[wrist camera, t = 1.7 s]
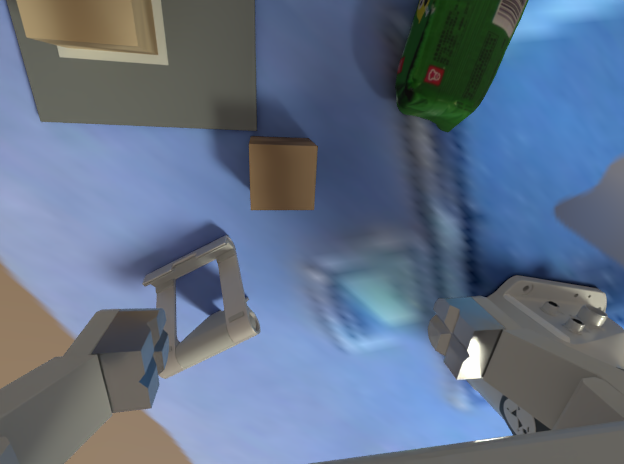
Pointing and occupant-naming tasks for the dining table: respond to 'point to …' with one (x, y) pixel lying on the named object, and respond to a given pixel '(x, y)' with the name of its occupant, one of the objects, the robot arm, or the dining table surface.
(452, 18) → the snack package
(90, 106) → the mat
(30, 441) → the robot arm
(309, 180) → the walnut cube
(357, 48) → the dining table surface
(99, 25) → the oak base block
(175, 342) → the portable electronic device stand
